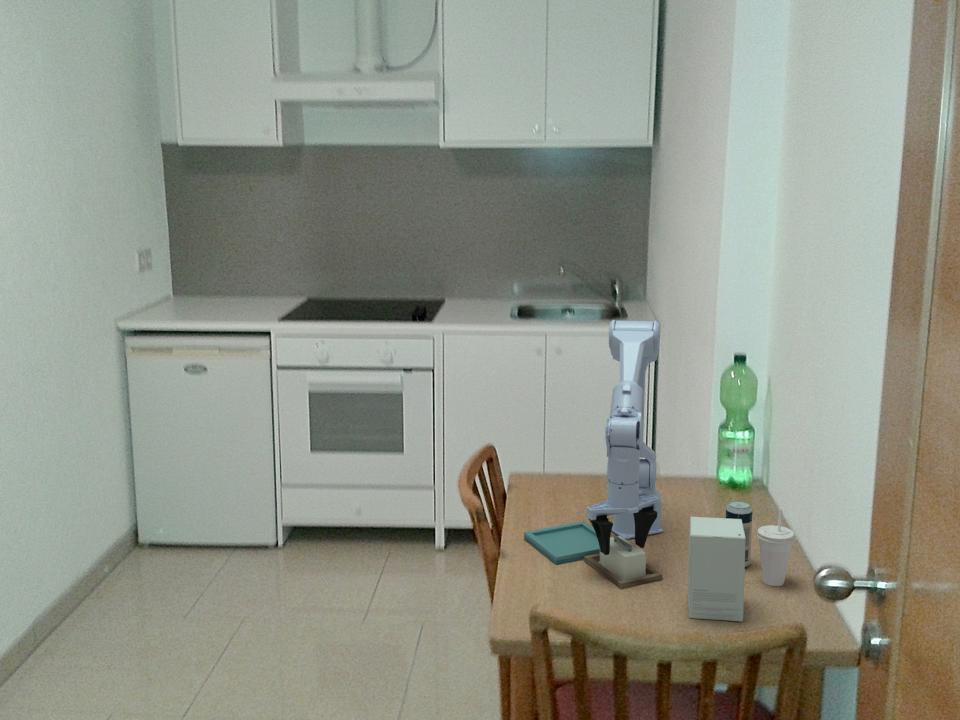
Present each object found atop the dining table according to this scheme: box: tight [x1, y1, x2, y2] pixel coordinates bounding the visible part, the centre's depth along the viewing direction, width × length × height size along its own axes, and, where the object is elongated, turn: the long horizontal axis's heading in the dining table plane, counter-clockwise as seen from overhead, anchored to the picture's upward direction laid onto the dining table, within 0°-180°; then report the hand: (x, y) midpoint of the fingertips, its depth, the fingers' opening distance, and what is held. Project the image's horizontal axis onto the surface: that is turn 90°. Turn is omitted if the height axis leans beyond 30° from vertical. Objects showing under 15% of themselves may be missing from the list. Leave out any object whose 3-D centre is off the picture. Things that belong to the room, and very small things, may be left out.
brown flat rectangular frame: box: [583, 553, 663, 589], centre depth 176 cm, size 9×13×1 cm, turn 23°
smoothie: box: [756, 507, 795, 587], centre depth 169 cm, size 6×6×14 cm
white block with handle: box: [599, 535, 647, 580], centre depth 175 cm, size 4×9×6 cm, turn 23°
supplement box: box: [687, 516, 746, 622], centre depth 159 cm, size 9×9×15 cm
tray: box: [523, 520, 600, 566], centre depth 188 cm, size 14×14×2 cm
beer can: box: [725, 500, 753, 568], centre depth 177 cm, size 5×5×12 cm
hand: (622, 549), depth 175 cm, fingers open, 7 cm apart
